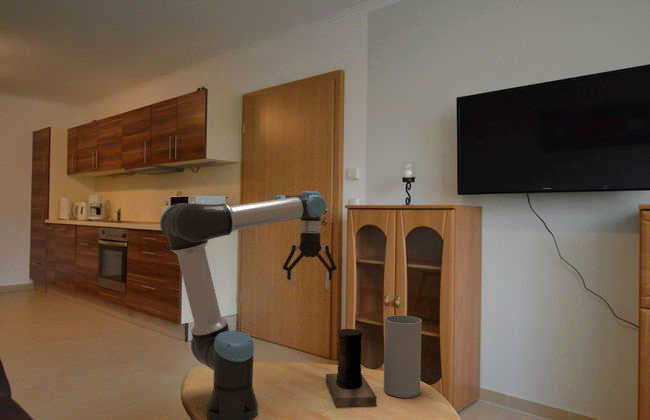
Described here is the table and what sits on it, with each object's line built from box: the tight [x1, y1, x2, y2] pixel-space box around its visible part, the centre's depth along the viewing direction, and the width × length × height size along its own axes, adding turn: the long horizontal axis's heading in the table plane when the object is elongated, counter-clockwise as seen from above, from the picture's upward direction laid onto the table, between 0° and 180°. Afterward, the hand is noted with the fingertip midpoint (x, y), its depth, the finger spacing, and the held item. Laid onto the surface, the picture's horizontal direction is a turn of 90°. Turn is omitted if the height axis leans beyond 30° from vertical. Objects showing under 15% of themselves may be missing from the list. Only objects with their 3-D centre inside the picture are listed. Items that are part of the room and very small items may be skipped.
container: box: [336, 328, 363, 389], centre depth 155 cm, size 9×9×18 cm
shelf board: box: [325, 373, 377, 409], centre depth 155 cm, size 13×22×3 cm, turn 8°
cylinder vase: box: [383, 314, 423, 399], centre depth 158 cm, size 12×12×25 cm
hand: (309, 288), depth 172 cm, fingers open, 13 cm apart
